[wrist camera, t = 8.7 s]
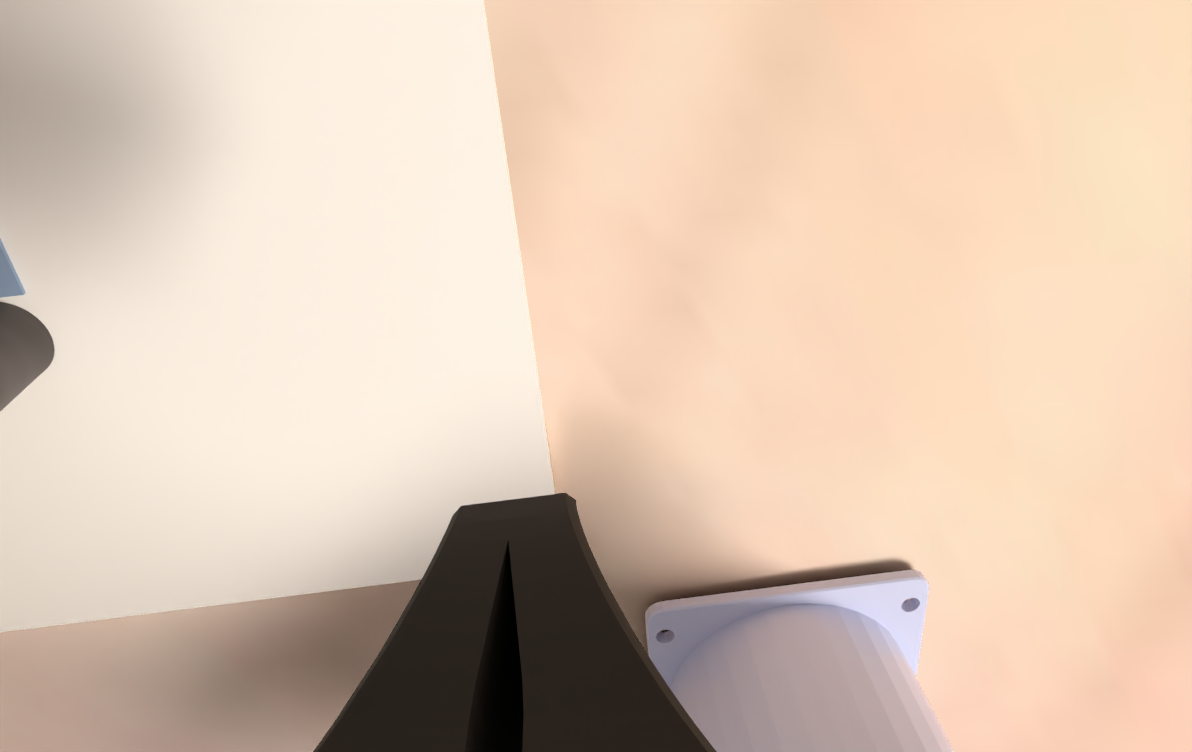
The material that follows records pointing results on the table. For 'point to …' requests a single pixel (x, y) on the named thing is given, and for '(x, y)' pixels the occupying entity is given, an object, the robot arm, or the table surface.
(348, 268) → the card
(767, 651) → the robot arm
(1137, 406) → the table surface
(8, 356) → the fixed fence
